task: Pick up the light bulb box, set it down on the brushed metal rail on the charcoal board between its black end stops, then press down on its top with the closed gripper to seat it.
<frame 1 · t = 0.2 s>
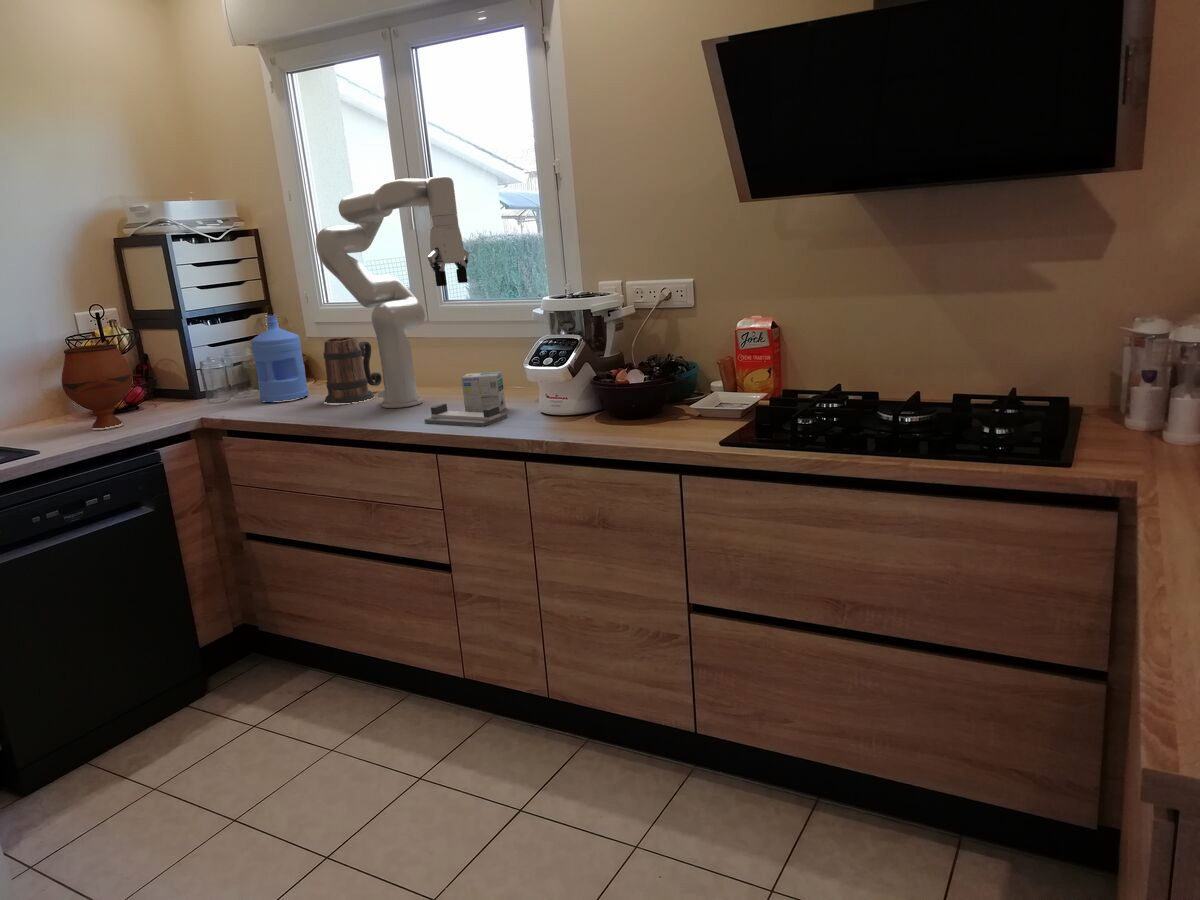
hand: (452, 284, 248), 36 cm above the worktop, tool pointing down, fingers open, 9 cm apart
goblet: (108, 428, 266), on the worktop
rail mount: (465, 420, 239), on the worktop
light bulb box: (485, 411, 250), on the worktop
tankard: (356, 398, 286), on the worktop
water jug: (285, 399, 294), on the worktop
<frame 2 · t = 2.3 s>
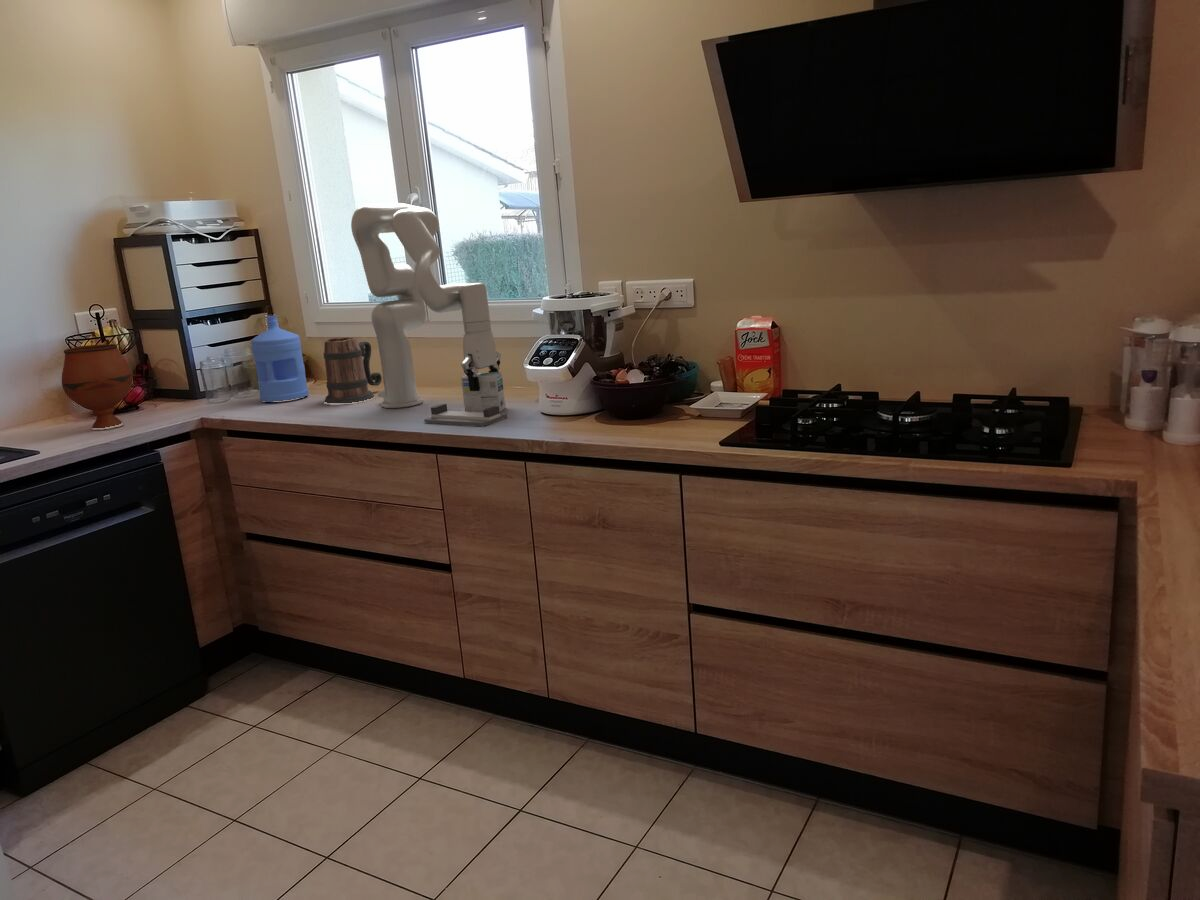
hand: (485, 387, 248), 7 cm above the worktop, tool pointing down, fingers open, 9 cm apart
nothing on the worktop moved.
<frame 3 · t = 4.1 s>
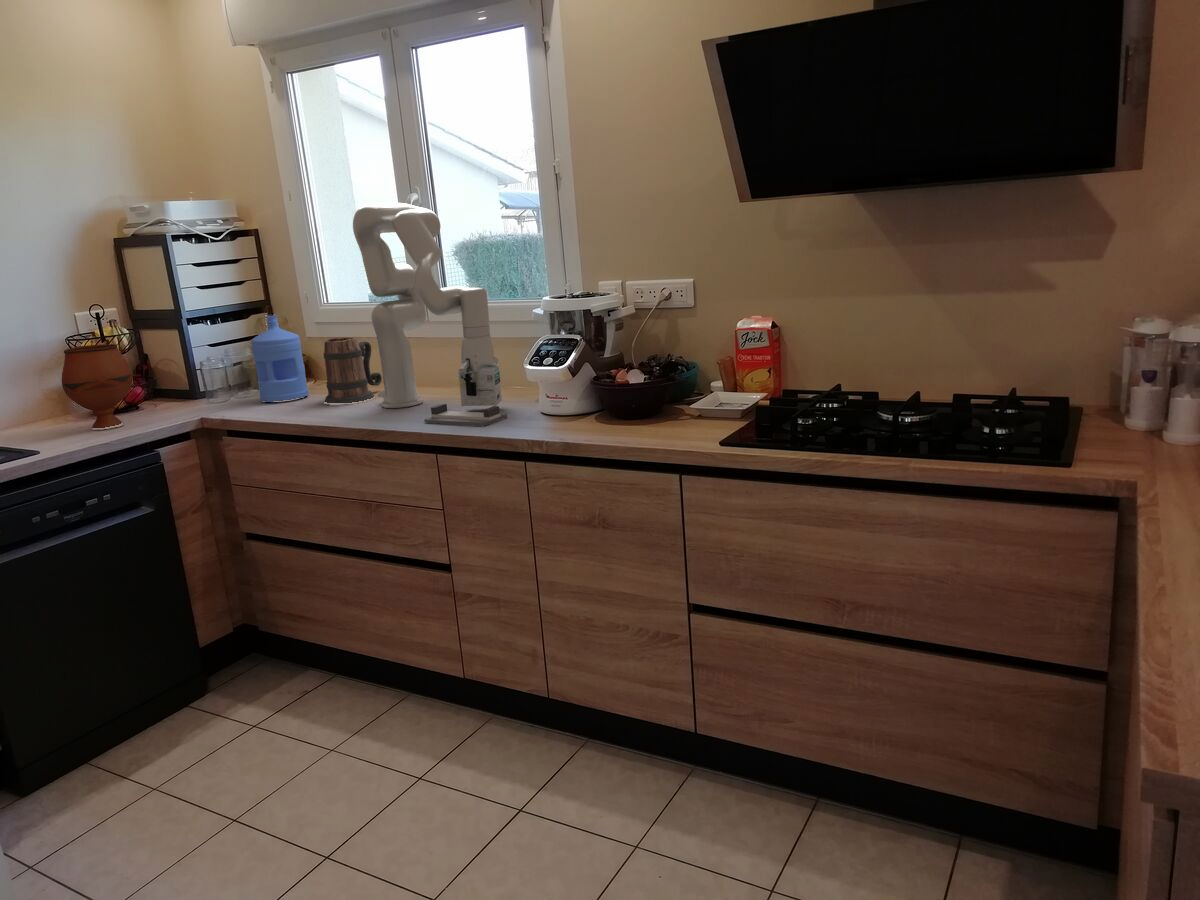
hand: (481, 392, 249), 5 cm above the worktop, tool pointing down, fingers closed on light bulb box, 8 cm apart
light bulb box: (482, 404, 250), point 2 cm above the worktop, touching gripper
everything else where it was.
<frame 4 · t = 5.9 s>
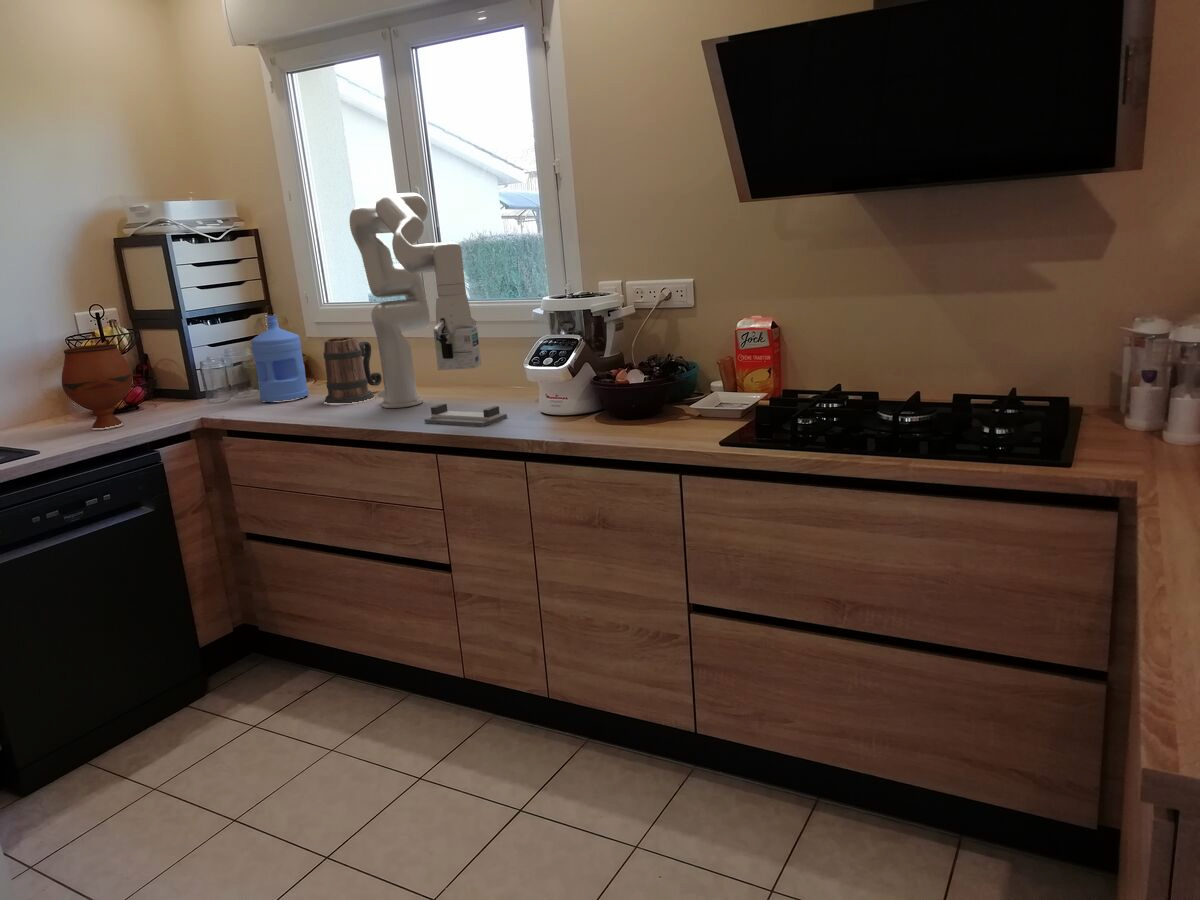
hand: (458, 355, 235), 18 cm above the worktop, tool pointing down, fingers closed on light bulb box, 8 cm apart
light bulb box: (460, 368, 235), point 14 cm above the worktop, touching gripper
everything else where it was.
when the fingers open (6 cm above the worktop, at t = 8.7 s): light bulb box drops 1 cm, resting on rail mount.
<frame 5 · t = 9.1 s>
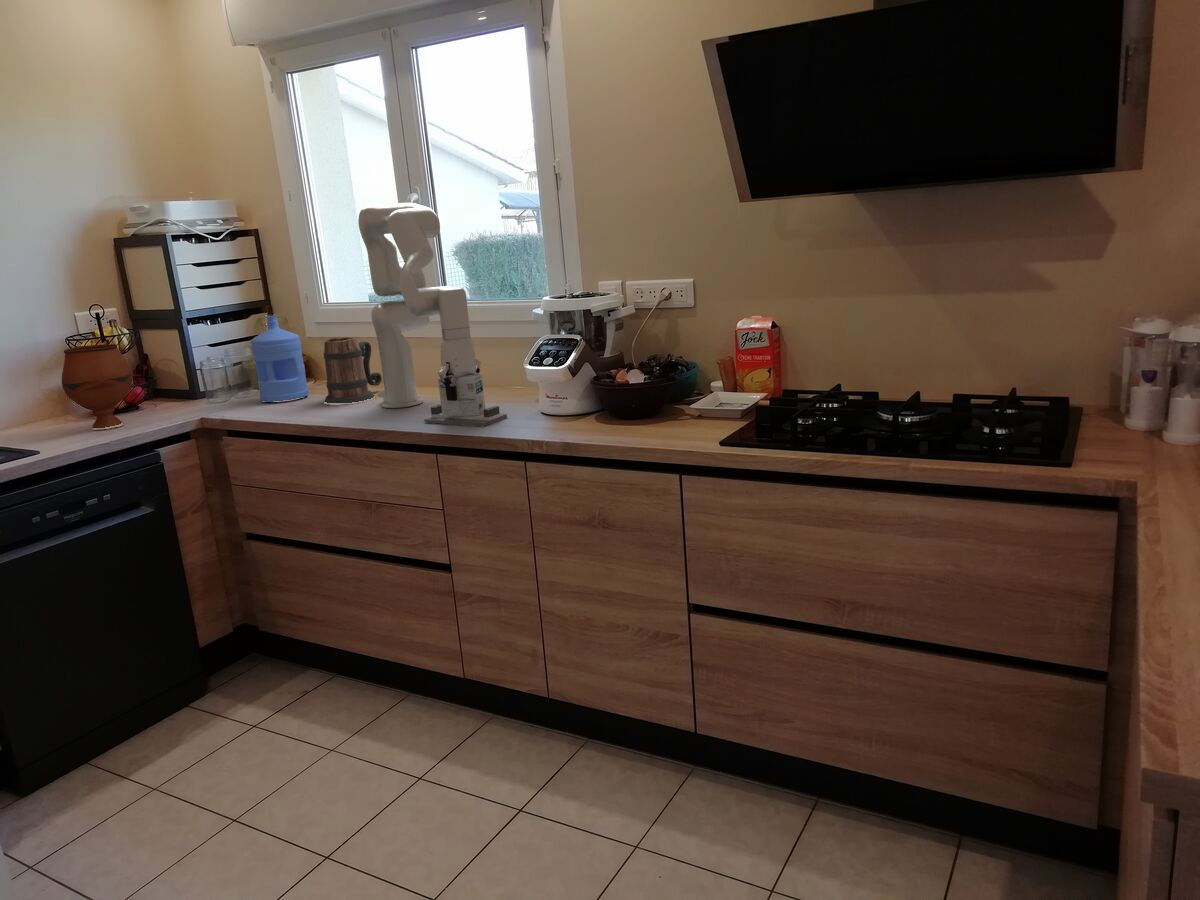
hand: (463, 396, 237), 7 cm above the worktop, tool pointing down, fingers open, 9 cm apart
light bulb box: (464, 414, 238), point 2 cm above the worktop, touching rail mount
everything else where it was.
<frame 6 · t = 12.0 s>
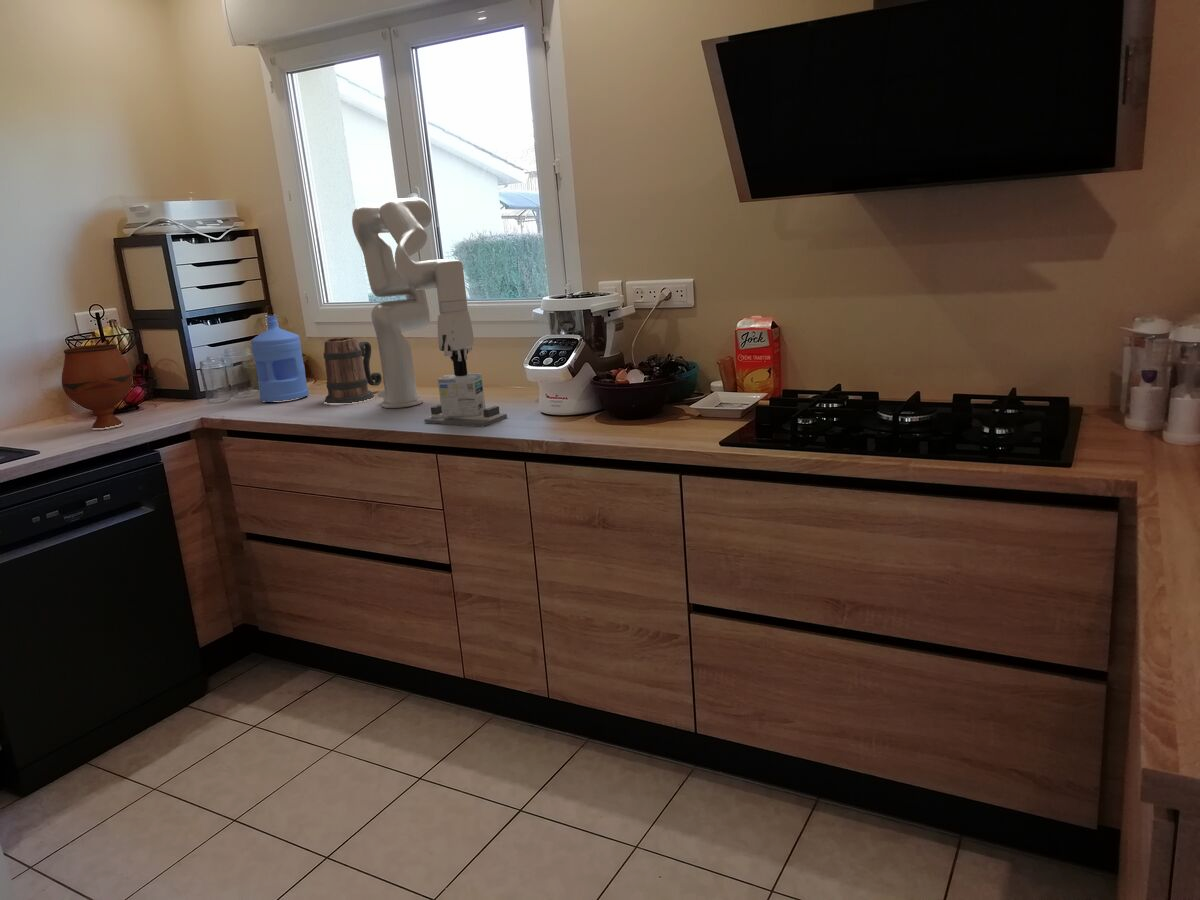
hand: (461, 375, 236), 13 cm above the worktop, tool pointing down, fingers closed
light bulb box: (464, 414, 238), point 2 cm above the worktop, touching gripper, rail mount
everything else where it was.
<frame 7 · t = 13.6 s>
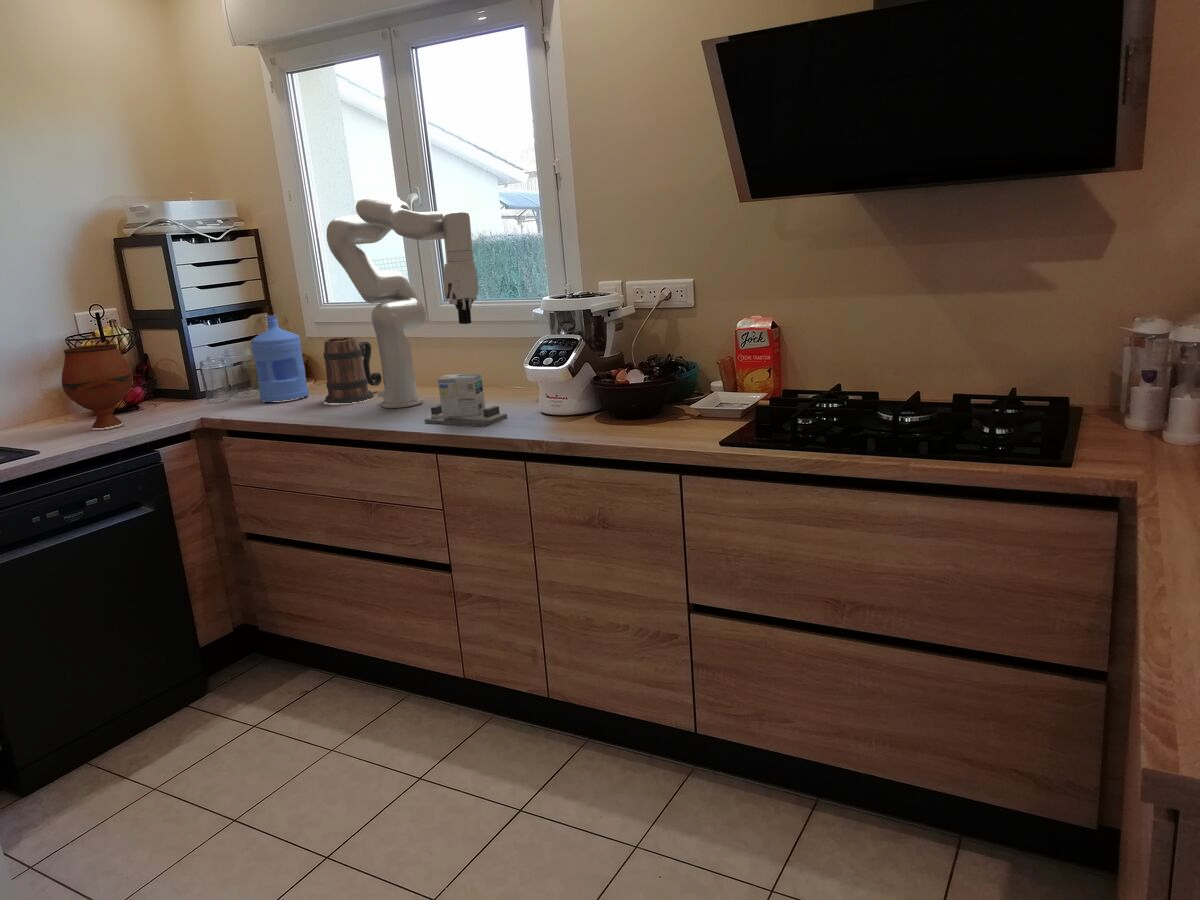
hand: (465, 323, 246), 25 cm above the worktop, tool pointing down, fingers closed
light bulb box: (464, 414, 238), point 2 cm above the worktop, touching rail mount
everything else where it was.
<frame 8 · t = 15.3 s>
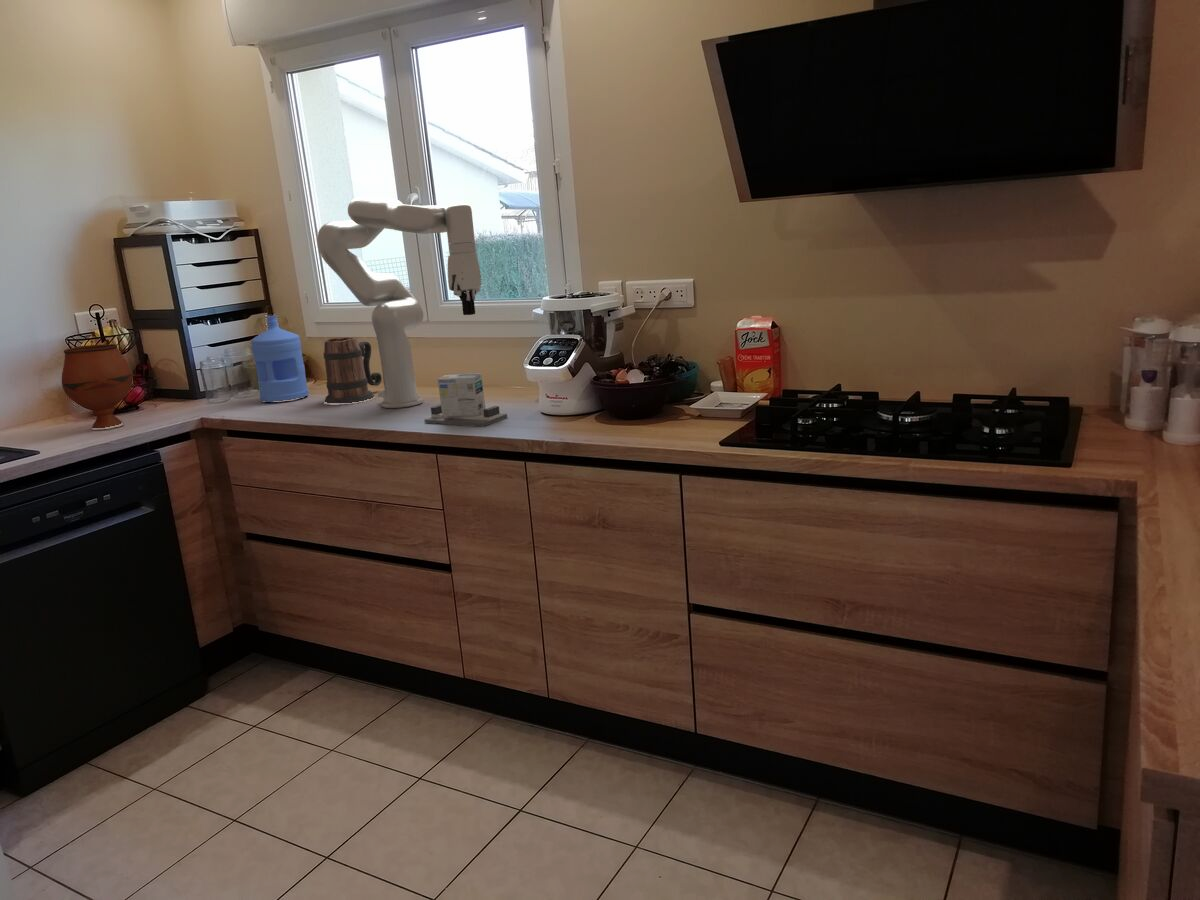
hand: (469, 314, 250), 27 cm above the worktop, tool pointing down, fingers closed
nothing on the worktop moved.
at the end: light bulb box inside the target area (0.3 cm from its centre), point 1.6 cm above the worktop; light bulb box tilted 0°; the gripper is holding nothing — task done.
